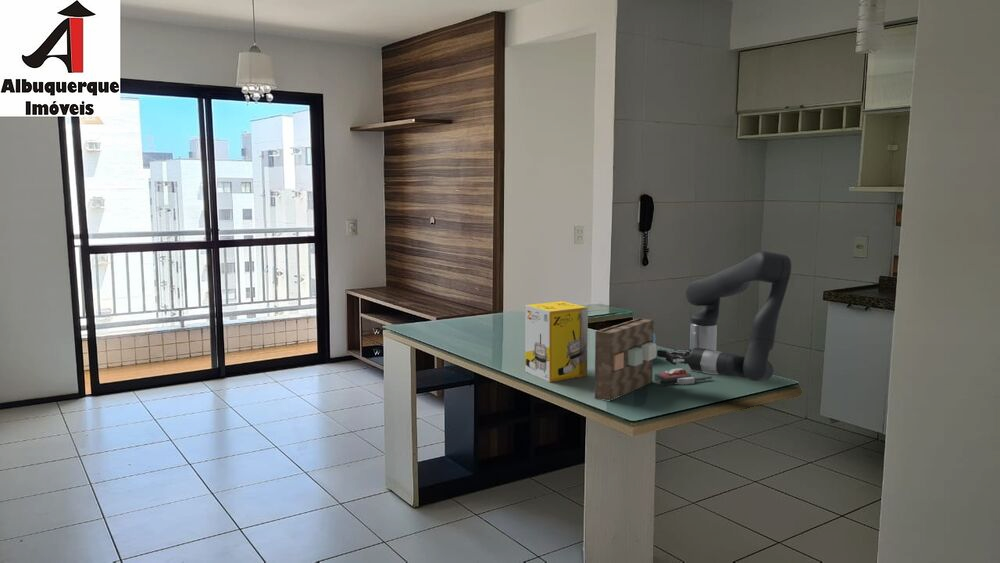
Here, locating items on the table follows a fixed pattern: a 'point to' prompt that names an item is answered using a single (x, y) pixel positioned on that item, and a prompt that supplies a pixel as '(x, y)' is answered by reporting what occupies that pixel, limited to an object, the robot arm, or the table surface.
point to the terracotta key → (618, 361)
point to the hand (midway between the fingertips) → (657, 352)
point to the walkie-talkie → (677, 377)
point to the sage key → (635, 356)
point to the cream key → (649, 351)
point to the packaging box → (556, 340)
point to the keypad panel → (620, 341)
